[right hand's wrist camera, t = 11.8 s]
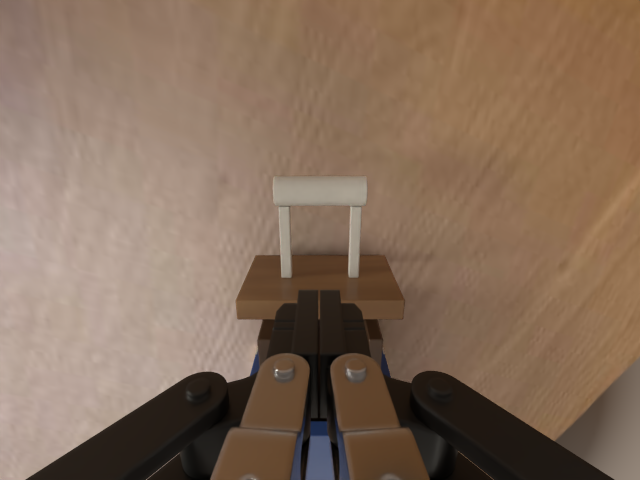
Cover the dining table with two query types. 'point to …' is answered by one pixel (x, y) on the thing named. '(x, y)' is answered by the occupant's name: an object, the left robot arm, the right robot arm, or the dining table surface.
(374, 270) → the drawer
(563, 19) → the dining table surface
